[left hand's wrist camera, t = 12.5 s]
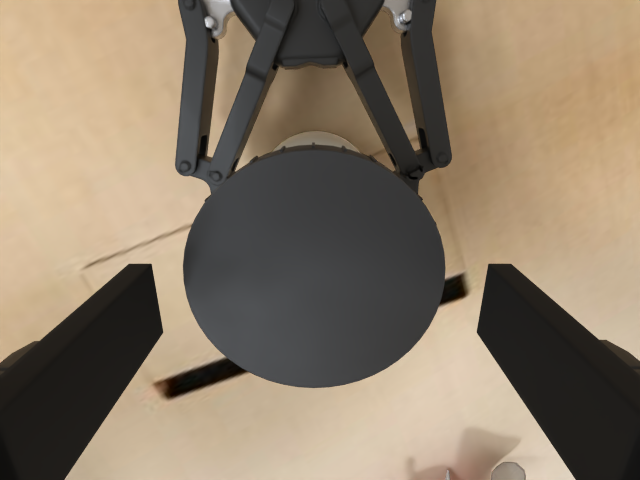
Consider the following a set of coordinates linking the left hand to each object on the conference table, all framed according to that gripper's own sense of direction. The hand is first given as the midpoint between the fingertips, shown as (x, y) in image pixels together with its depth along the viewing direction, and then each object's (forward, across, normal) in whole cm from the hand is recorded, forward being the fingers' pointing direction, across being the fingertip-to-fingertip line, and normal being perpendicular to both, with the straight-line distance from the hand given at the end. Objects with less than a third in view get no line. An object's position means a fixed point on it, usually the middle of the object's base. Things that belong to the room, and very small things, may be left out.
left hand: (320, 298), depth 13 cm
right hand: (+12, 0, -5) cm, 13 cm away
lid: (+2, 0, 0) cm, 2 cm away
